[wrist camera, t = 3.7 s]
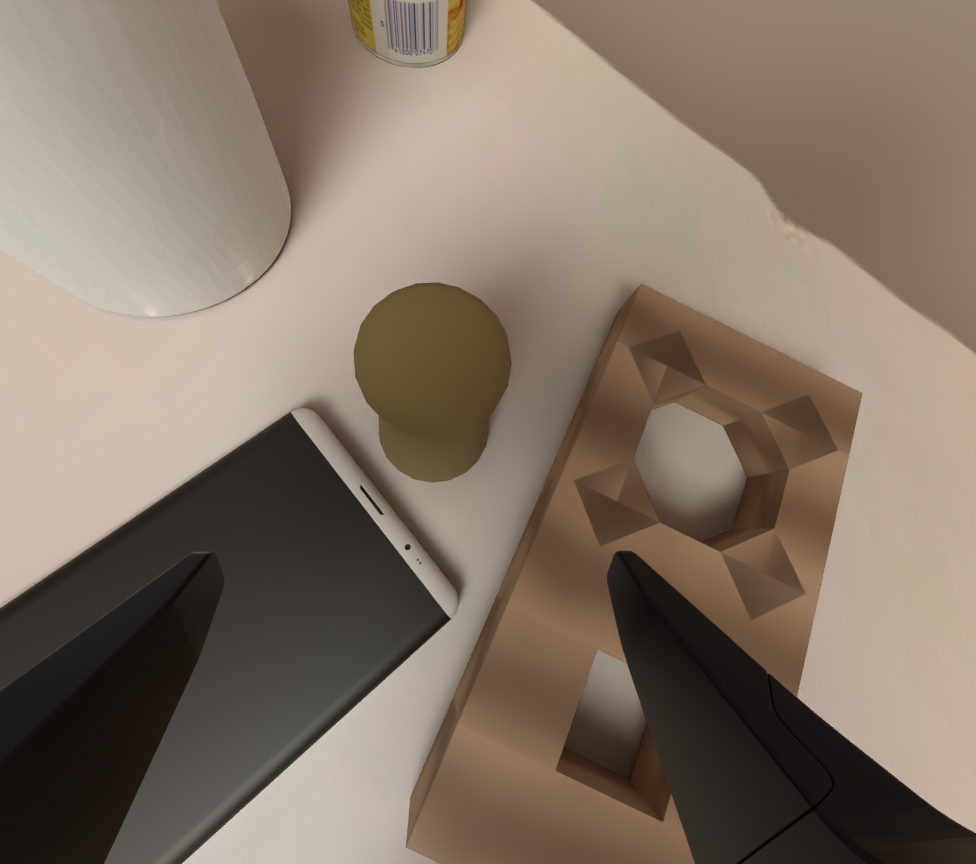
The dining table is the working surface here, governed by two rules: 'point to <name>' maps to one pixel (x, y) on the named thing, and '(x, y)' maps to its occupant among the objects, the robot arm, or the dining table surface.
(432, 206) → the dining table surface
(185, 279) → the utensil holder
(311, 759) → the dining table surface
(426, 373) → the cork
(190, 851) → the smartphone
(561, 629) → the bore caddy
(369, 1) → the canned food
